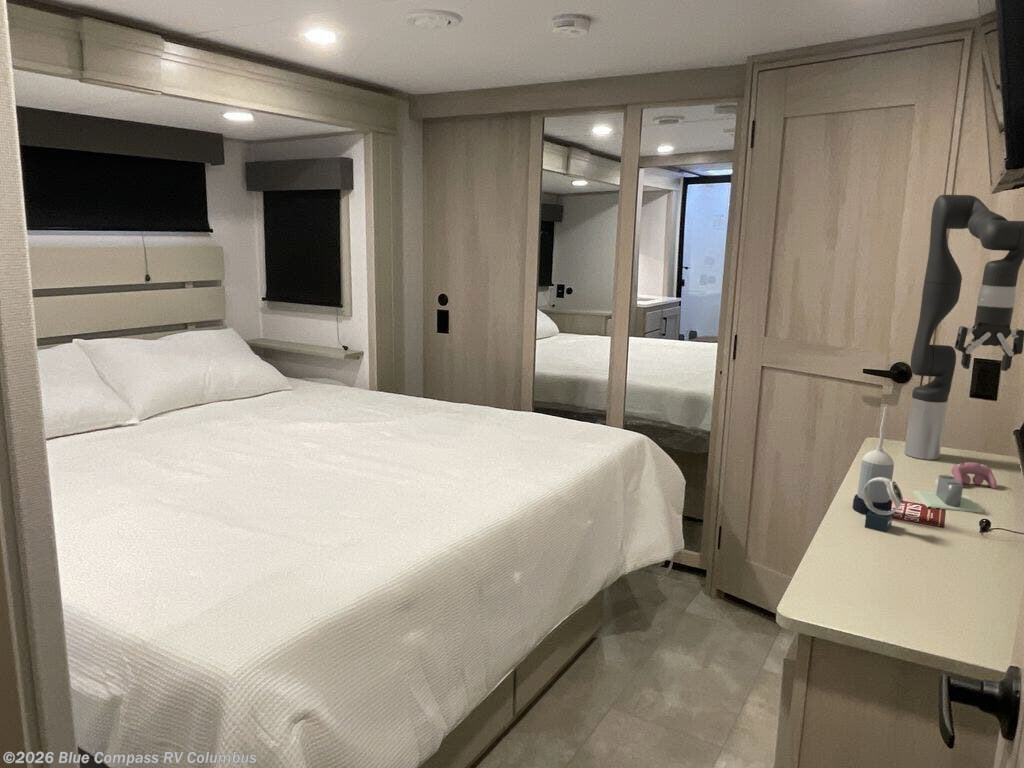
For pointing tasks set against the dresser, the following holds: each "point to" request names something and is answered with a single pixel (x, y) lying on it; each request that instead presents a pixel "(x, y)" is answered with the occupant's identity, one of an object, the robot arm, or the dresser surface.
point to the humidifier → (875, 476)
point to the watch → (879, 517)
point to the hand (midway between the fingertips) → (984, 369)
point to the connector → (949, 490)
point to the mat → (935, 502)
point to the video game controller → (973, 468)
